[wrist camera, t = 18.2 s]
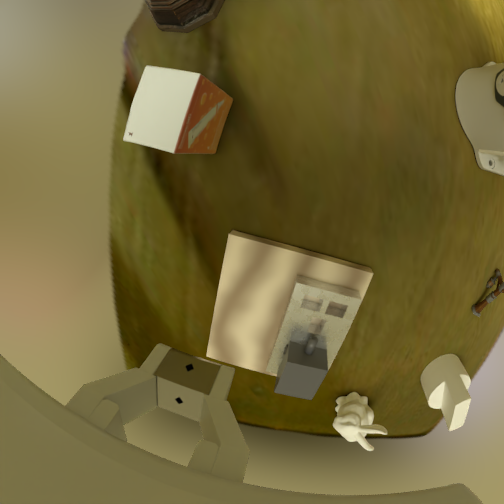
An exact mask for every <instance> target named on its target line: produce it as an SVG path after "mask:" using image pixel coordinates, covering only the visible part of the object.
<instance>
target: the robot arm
mask: <svg viewBox="0 0 504 504" xmlns="http://www.w3.org/2000/svg"><path fill="white" fill-rule="evenodd" d="M455 98H456V107H457V112H458V116H459V119H460V122H461V125H462V127H463V129H464V131H465V133H466V135H467V137H468V138H469V140H470V142H471V144H472V146H473V148H474V152H475V156H476V160H477V163H478V166H479V167H480V168H481V169H483V170H486V171H489V172H493V173H496V174H499V175H502V176H504V63H499V64H496V63H495V62H488V63H486V64H485V65H484V66H483V67H480V68H471V69H468V70H466V71H465V72H463V73H462V75H461V76H460V78H459V80H458V82H457V86H456V93H455ZM489 161H490V165H489ZM234 372H235V368H231V367H228V366H225V365H221V364H218V363H215V362H211V361H208V360H205V359H202V358H199V357H195V356H193V355H190V354H187V353H185V352H182V351H179V350H177V349H174V348H171V347H169V346H166V345H164V344H161V343H159V344H158V345H156V347H155V348H154V350H153V351H152V352H151V354H150V355H149V356H148V358H147V359H146V360H145V362H144V363H143V364H142V366H141V367H140V369H138V368H133V369H130V370H127V371H124V372H122V373H119V374H116V375H112V376H109V377H106V378H103V379H100V380H97V381H94V382H90V383H87V384H84V385H83V386H82V387H81V388H80V389H79V391H78V392H77V393H76V394H75V395H74V396H73V398H72V399H71V400H70V401H69V402H68V403H67V405H66V406H64V405H62V404H61V403H59V402H58V401H56V400H55V399H54V398H52V397H51V396H50V395H48V394H47V393H45V392H44V391H43V390H42V389H40V388H39V387H38V386H36V385H35V384H34V383H33V382H31V381H30V380H29V379H27V378H26V377H25V376H24V375H23V374H21V372H19V371H18V370H17V369H16V368H15V367H14V366H12V365H11V364H10V363H9V362H8V361H7V360H6V359H5V358H4V357H3V356H1V354H0V504H482V502H481V500H480V499H479V498H478V497H477V496H476V495H475V494H474V493H473V492H472V491H471V490H470V489H469V488H468V487H466V486H465V485H464V484H460V483H457V484H451V485H447V486H442V487H437V488H432V489H426V490H419V491H412V492H404V493H394V494H380V495H325V494H310V493H300V492H292V491H285V490H278V489H271V488H266V487H260V486H255V485H250V484H245V483H243V479H244V475H245V471H246V466H247V463H248V459H249V454H250V451H249V449H248V446H247V444H246V442H245V440H244V437H243V435H242V433H241V431H240V428H239V426H238V424H237V421H236V419H235V417H234V414H233V412H232V409H231V407H230V405H229V402H227V401H226V400H227V397H228V393H229V390H230V386H231V383H232V379H233V376H234ZM157 406H158V407H161V408H163V409H166V410H168V411H172V412H174V413H177V414H180V415H182V416H185V417H187V418H190V419H192V420H195V421H198V422H199V424H200V428H201V431H202V435H203V439H204V440H201V441H198V443H197V446H196V448H195V450H194V453H193V455H192V458H191V460H190V462H189V465H188V467H186V466H183V465H180V464H177V463H175V462H172V461H169V460H167V459H164V458H161V457H159V456H157V455H154V454H152V453H150V452H147V451H145V450H143V449H140V448H138V447H136V446H134V445H132V444H130V443H128V442H127V438H126V434H125V431H124V427H123V425H125V424H126V423H129V422H131V421H133V420H135V419H136V418H138V417H140V416H142V415H144V414H146V413H148V412H150V411H151V410H153V409H155V408H157Z"/></svg>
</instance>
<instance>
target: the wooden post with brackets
mask: <svg viewBox="0 0 504 504" xmlns="http://www.w3.org/2000/svg"><path fill="white" fill-rule="evenodd" d="M501 277H502V276H501V273H500V271H499V270H498V269H497V270H496V277H494V278H493V279H492V278H491V280H490V281H488V282H487V286H486V287H487V288H489V287H490V288H491V287H492V286H493V285H494V284H495V280H496V279H497V278H498V283H497V288H496V290H495V291H494V292H493V291H492V292H491V293H490V294H489V295H488V296H487V297H486V298H485V299H484V300H483V301H482V302H480V303H479V304H477V305H474V304H473V305H472V309H473V314H475V315H477V316H480V312H481V311H482V310H483V308H484V307H485V306H486V305H487V304H488V303H490V302H492V301H493V300H495V299H496V298H497V297H496V296H498V295H499V294H500V293H504V282H503V281H502V278H501ZM499 283H500V286H499ZM494 298H495V299H494Z"/></svg>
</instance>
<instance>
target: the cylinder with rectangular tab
mask: <svg viewBox="0 0 504 504" xmlns="http://www.w3.org/2000/svg"><path fill="white" fill-rule="evenodd" d="M420 380H421V384H422V387H423V390H424V392H425V395H426V398H427V401H428V404H429V405H430V407H432V408H435V409H439V408H441V410H442V412H443V415H444V418H445V421H446V424H447V427H448V430H449V431H452V430H454V429H457V428H459V427H461V426H462V425H463V424H464V421H465V418H466V415H467V411H468V408H469V404H470V401H471V397H470V395H469V393H468V391H467V390H468V388H469V386H470V378H469V376H468V374H467V372H466V370H465V368H464V366H463V365H462V363H461V361H460V359H459V358H458V356H456V355H454V354H446V355H443V356H440V357H438V358H436V359H435V360H433V361H432V362H431V363H430V364H429V365H428V366H427V367H426V368H425V369H424V371H423V373H422V375H421V379H420Z"/></svg>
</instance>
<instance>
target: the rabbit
mask: <svg viewBox="0 0 504 504" xmlns="http://www.w3.org/2000/svg"><path fill="white" fill-rule="evenodd" d="M336 403H337V404H338V405H337V406H336V407H335V410H336V412H337V417H336V418H335V419H334V422H333V427H334V428H335V429H336V430H337V431H338V432H339V433H340V434H341V435H342V436H343V437H344V438H345V439H346V440H348V441H350V442H354V441H358V442H359V443H360V444H361V446H362V447H363V448H365V449H366V450H368V451H372V450H374V447H373V446H372V445H370V444H369V443H368V442H367V440H366V439H365V438H364V437H365V436H366V434H367V433H381V434H385V435H386V434H387V430H386V429H385V427H383V426H381V425H377V424H374V425H371V424H372V422H373V418H374V414H373V410H372V409H371V408H370V407H369V406H368V405H367V404H368V398H367V397H366V396H360V395H359V394H358V393H357V392H352V393H350V394H349V395H348V396H341V397H339V398H337V399H336Z"/></svg>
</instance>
